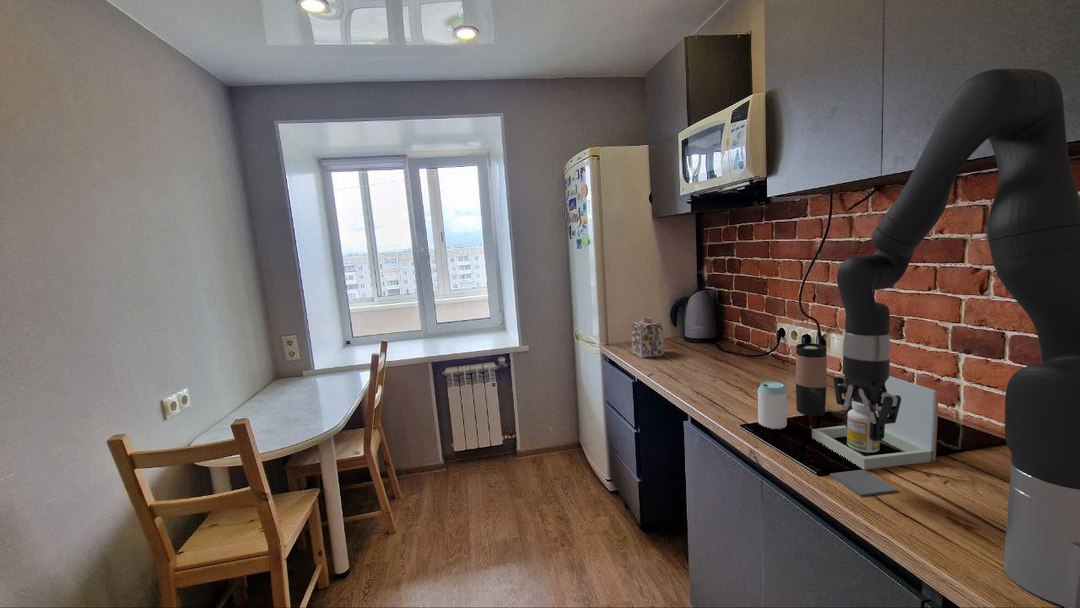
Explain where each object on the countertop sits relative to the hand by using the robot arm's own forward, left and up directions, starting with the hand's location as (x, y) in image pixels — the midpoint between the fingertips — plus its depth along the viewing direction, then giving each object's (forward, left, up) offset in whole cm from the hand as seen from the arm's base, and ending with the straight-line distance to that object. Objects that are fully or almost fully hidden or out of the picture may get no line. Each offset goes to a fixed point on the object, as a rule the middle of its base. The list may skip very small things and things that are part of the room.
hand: (863, 433), depth 87 cm
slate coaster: (0, 0, -11) cm, 11 cm away
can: (+30, 0, -11) cm, 32 cm away
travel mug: (+36, -16, -11) cm, 41 cm away
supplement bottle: (0, 0, -3) cm, 3 cm away
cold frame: (+12, -13, -11) cm, 21 cm away
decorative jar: (+116, +6, -11) cm, 117 cm away
